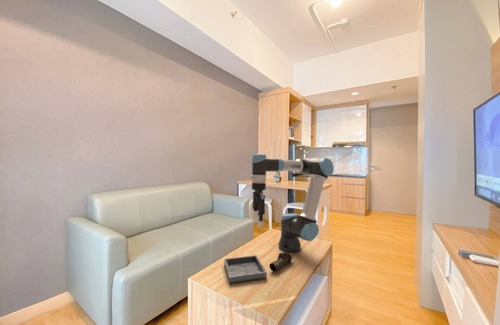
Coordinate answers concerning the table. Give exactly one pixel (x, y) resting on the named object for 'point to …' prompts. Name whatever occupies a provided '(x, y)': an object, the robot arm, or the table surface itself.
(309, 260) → the table surface
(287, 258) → the metal pipe
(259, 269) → the grey square tray
